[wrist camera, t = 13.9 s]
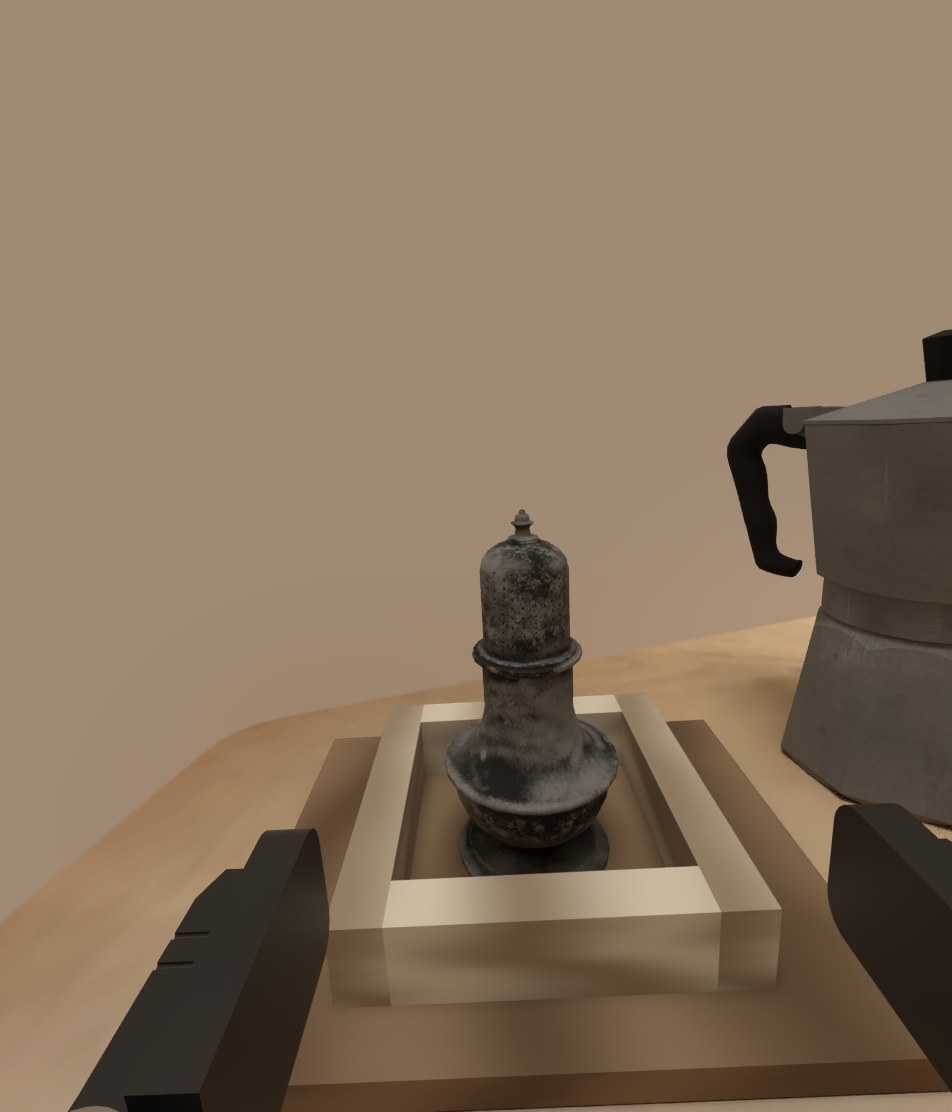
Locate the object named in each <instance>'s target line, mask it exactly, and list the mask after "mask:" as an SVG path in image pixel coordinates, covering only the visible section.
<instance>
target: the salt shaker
mask: <svg viewBox="0 0 952 1112" xmlns="http://www.w3.org/2000/svg"><path fill="white" fill-rule="evenodd" d="M532 523H533V521H530V520H529V516H528V515H527V514H525V511H524V510H520V511H519V514H517V515H516V516H515V521H513V522H511V524H512V525H514V526H515V528H516V531H515V535H511V536H509V537H508V539H507V540H506V541H503V542H501V543H498V544H497V545H495V546H494V547H492V548H491V549H490V550H489V551H487V553H486V554H485V556H484V557H483V559H482V561H481V567H480V585H481V603H482V623H483V639H481V640H480V641H479V642H478V643H477V644H476V645H475V647H474V648H473V653H472V655H473V658H474V660H475V662H476V663H477V664H479V665H480V666H481V667H482V668H483V685H484V703H485V706H484V712H483V716H482V719H481V720H479V721H477V722H475V723H473V724H471V725H469V726H467V727H466V728H465V729H463V730H462V731H461V732H460V733H459V734H457V735H456V736H455V738H454V739H453V740H452V742H451V743H450V745H449V746H448V748H447V751H446V756H445V761H444V762H445V767H446V772H447V776H448V778H449V779H450V781H451V782H452V783H453V785H454V786H455V788H456V789H457V792H458V796H459V799H460V800H461V802H462V804H463V806H464V807H465V809H466V811H467V813H468V814H469V816H470V817H469V818H468V820H467V822H466V823H465V825H464V827H463V829H462V831H461V837H460V844H459V849H460V854H461V858H462V862H463V865H464V866H465V868H466V869H467V871H468V873H469V874H470V876H471V877H481V876H502V875H523V874H544V873H565V872H585V871H604V869H605V867H606V866H607V862H608V856H609V842H608V838H607V833H606V831H605V829H604V828H603V826H602V824H601V823H600V821H599V820H598V819H597V818H596V816H597V815H598V813H599V811H600V809H601V807H602V805H603V803H604V801H605V799H606V797H607V792H608V788H609V787H610V786H611V784H612V783H613V781H614V780H615V778H616V777H617V771H618V765H619V759H618V756H617V752H616V749H615V746H614V745H613V744H612V743H611V741H610V740H609V739H608V737H607V736H606V735H605V734H604V733H602V732H601V731H600V730H598V729H597V728H596V727H594V726H593V725H592V724H589V723H587V722H585V721H583V720H581V719H578V718H577V717H576V713H575V710H574V706H573V666H574V665H575V664H576V663H577V662H578V661H579V660H580V658H581V656H582V649H581V645H580V644H579V643H578V642H577V641H576V640H575V639H573V638H571V637H570V616H569V567H568V563H567V559H566V557H565V555H564V554H563V553H562V551H561V550H560V549H559V548H557V547H556V546H554V545H553V544H551V543H549V542H547V541H544V540H540V539H539V538H538V536H537V535H534V534H530V529H529V528H530V526H531V525H532Z"/></svg>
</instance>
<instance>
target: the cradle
mask: <svg viewBox="0 0 952 1112" xmlns="http://www.w3.org/2000/svg"><path fill="white" fill-rule="evenodd" d="M484 706H485V703H484V702H469V703H450V704H431V705H413V706H394V707H390V710H389V714H388V717H387V720H386V724H385V727H384V730H383V733H382V737H363V738H344V739H335V740H334V742H333V744H332V746H331V748H330V751H329V753H328V755H327V757H326V760H325V762H324V764H323V766H322V769H321V771H320V773H319V775H318V777H317V780H316V782H315V784H314V786H313V789H312V791H311V793H310V795H309V798H308V800H307V802H306V804H305V807H304V809H303V811H302V813H301V815H300V818H299V820H298V822H297V824H296V827H295V829H310V828H314V829H315V830H316V831H317V833H318V836H319V841H320V848H321V855H322V862H323V869H324V876H325V883H326V890H327V897H328V904H329V914H330V925H329V938H328V945H327V951H326V955H325V959H324V963H323V966H322V970H321V973H320V977H319V980H318V984H317V987H316V991H315V994H314V998H313V1001H312V1005H311V1008H310V1011H309V1015H308V1018H307V1022H306V1025H305V1029H304V1032H303V1036H302V1039H301V1043H300V1046H299V1050H298V1053H297V1057H296V1060H295V1064H294V1067H293V1071H292V1074H291V1077H290V1081H289V1084H288V1088H287V1091H286V1095H285V1098H284V1102H283V1105H282V1109H281V1112H439V1111H464V1110H488V1109H512V1108H536V1107H561V1106H585V1105H609V1104H634V1103H658V1102H682V1101H706V1100H731V1099H755V1098H779V1097H803V1096H828V1095H852V1094H876V1093H901V1092H925V1091H949V1088H948V1087H947V1085H946V1084H945V1082H944V1081H943V1080H942V1078H941V1077H940V1075H939V1074H938V1073H937V1071H936V1070H935V1068H934V1067H933V1065H932V1064H931V1063H930V1061H929V1060H928V1058H927V1057H926V1055H925V1054H924V1053H923V1051H922V1050H921V1048H920V1047H919V1045H918V1044H917V1043H916V1041H915V1040H914V1038H913V1037H912V1036H911V1034H910V1033H909V1031H908V1030H907V1028H906V1027H905V1026H904V1024H903V1023H902V1021H901V1020H900V1018H899V1017H898V1016H897V1014H896V1013H895V1011H894V1010H893V1008H892V1007H891V1006H890V1004H889V1003H888V1001H887V1000H886V999H885V997H884V996H883V994H882V993H881V991H880V990H879V989H878V987H877V986H876V984H875V983H874V981H873V980H872V979H871V977H870V976H869V974H868V973H867V971H866V970H865V969H864V967H863V966H862V964H861V963H860V962H859V960H858V959H857V957H856V956H855V954H854V953H853V952H852V950H851V949H850V947H849V946H848V944H847V943H846V942H845V940H844V939H843V937H842V936H841V934H840V932H839V930H838V928H837V926H836V924H835V921H834V919H833V916H832V913H831V910H830V906H829V901H828V893H827V886H828V884H827V883H826V881H825V880H824V879H823V877H822V876H821V875H820V873H819V872H818V871H817V869H816V868H815V867H814V865H813V864H812V863H811V861H810V860H809V859H808V858H807V856H806V855H805V854H804V852H803V851H802V850H801V848H800V847H799V846H798V844H797V843H796V842H795V840H794V839H793V838H792V836H791V835H790V834H789V832H788V831H787V830H786V828H785V827H784V826H783V824H782V823H781V822H780V820H779V819H778V818H777V816H776V815H775V814H774V812H773V811H772V810H771V808H770V807H769V806H768V804H767V803H766V802H765V801H764V799H763V798H762V797H761V795H760V794H759V793H758V791H757V790H756V789H755V787H754V786H753V785H752V783H751V782H750V781H749V779H748V778H747V777H746V775H745V774H744V773H743V771H742V770H741V769H740V767H739V766H738V765H737V763H736V762H735V761H734V759H733V758H732V757H731V755H730V754H729V753H728V751H727V750H726V749H725V747H724V746H723V745H722V744H721V742H720V741H719V740H718V738H717V737H716V736H715V734H714V733H713V732H712V730H711V729H710V728H709V726H708V725H707V724H706V722H705V721H704V720H690V721H670V722H665V720H664V719H663V717H662V716H661V714H660V712H659V711H658V709H657V708H656V706H655V704H654V703H653V701H652V700H651V698H650V696H649V695H648V693H639V694H620V695H601V696H583V697H573V706H574V710H575V713H576V717H577V718H578V719H581V720H583V721H585V722H587V723H589V724H592V725H593V726H594V727H596V728H597V729H598V730H600V731H601V732H602V733H604V734H605V735H606V736H607V737H608V739H609V740H610V741H611V743H612V744H613V745H614V746H615V749H616V752H617V756H618V759H619V765H618V771H617V777H616V778H615V780H614V781H613V783H612V784H611V786H610V787H609V788H608V792H607V797H606V799H605V801H604V803H603V805H602V807H601V809H600V811H599V813H598V815H597V816H596V818H597V819H598V820H599V821H600V823H601V824H602V826H603V828H604V829H605V831H606V833H607V838H608V842H609V856H608V862H607V866H606V867H605V869H604V871H585V872H565V873H544V874H523V875H502V876H481V877H471V876H470V874H469V873H468V871H467V869H466V868H465V866H464V865H463V862H462V858H461V854H460V849H459V844H460V837H461V831H462V829H463V827H464V825H465V823H466V822H467V820H468V818H469V817H470V816H469V814H468V813H467V811H466V809H465V807H464V806H463V804H462V802H461V800H460V799H459V796H458V792H457V789H456V788H455V786H454V785H453V783H452V782H451V781H450V779H449V778H448V776H447V772H446V767H445V762H444V761H445V756H446V751H447V748H448V746H449V745H450V743H451V742H452V740H453V739H454V738H455V736H456V735H457V734H459V733H460V732H461V731H462V730H463V729H465V728H466V727H467V726H469V725H471V724H473V723H475V722H477V721H479V720H481V719H482V716H483V712H484Z"/></svg>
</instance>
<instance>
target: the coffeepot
mask: <svg viewBox="0 0 952 1112" xmlns="http://www.w3.org/2000/svg"><path fill="white" fill-rule="evenodd" d="M922 342H923V352H924V362H925V373H926V382H925V383H921V384H918V385H915V386H912V387H909V388H905V389H902V390H899V391H896V392H893V393H889V394H887V395H883V396H880V397H877V398H874V399H871V400H867V401H864V402H861V403H858V404H855V405H851V406H848V407H838V406H827V407H822V406H813V407H794V408H792V407H791V405H781V406H763V407H760V408H758V409H756V410H755V411H754V412H753V413H752V414H751V416H750V417H749V418H748V419H747V420H746V421H745V423H744V424H743V425H742V426H741V427H740V429H739V430H738V431H737V432H736V433H735V434H734V436H733V437H732V438H731V440H730V442H729V444H728V447H727V457H728V462H729V466H730V469H731V472H732V476H733V479H734V482H735V486H736V490H737V493H738V497H739V501H740V505H741V509H742V512H743V517H744V521H745V524H746V528H747V532H748V536H749V540H750V544H751V547H752V551H753V555H754V559H755V563H756V565H757V566H758V567H759V568H760V569H762V570H764V571H766V572H770V573H773V574H776V575H781V576H786V577H794V576H796V574H797V573H798V572H799V571H800V569H801V567H802V561H801V560H795V559H792V558H789V557H787V556H784V555H783V554H781V553H780V552H779V550H778V548H777V544H776V535H777V519H776V516H775V513H774V511H773V509H772V506H771V504H770V501H769V497H768V480H767V472H766V467H765V464H764V462H763V459H762V456H761V455H762V451H763V449H764V448H765V447H766V446H767V445H768V444H778V445H783V446H787V447H791V448H800V449H807V460H808V471H809V483H810V496H811V508H812V520H813V533H814V544H815V557H816V568H817V574H818V575H821V576H822V577H824V583H823V593H822V606H820V608H819V610H818V613H817V617H816V621H815V624H814V628H813V632H812V635H811V639H810V643H809V646H808V650H807V654H806V657H805V661H804V664H803V668H802V672H801V675H800V679H799V683H798V686H797V690H796V694H795V697H794V701H793V704H792V708H791V711H790V715H789V719H788V722H787V726H786V729H785V733H784V736H783V740H782V743H781V746H782V747H783V749H784V750H785V751H786V752H787V753H788V754H789V755H790V756H791V757H792V758H793V760H794V761H795V762H796V763H797V764H798V765H799V766H800V767H801V768H802V769H804V770H805V771H806V772H807V773H808V774H809V775H810V776H812V777H813V778H815V779H816V780H817V781H819V782H820V783H822V784H823V785H825V786H826V787H828V788H830V789H832V790H834V791H835V792H837V793H839V794H841V795H843V796H845V797H847V798H849V799H852V800H854V801H856V802H859V803H861V804H878V803H896V804H899V805H901V806H902V807H904V808H905V809H906V810H908V811H909V812H910V813H911V814H912V815H913V816H914V817H915V818H916V819H918V820H919V821H920V822H926V823H933V824H940V825H947V826H952V330H944V331H941V332H939V333H936V334H934V335H931V336H929V337H927V338H924V339H923V340H922Z"/></svg>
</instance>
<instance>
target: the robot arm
mask: <svg viewBox="0 0 952 1112" xmlns="http://www.w3.org/2000/svg"><path fill="white" fill-rule="evenodd" d="M827 893H828V901H829V906H830V910H831V913H832V916H833V919H834V921H835V924H836V926H837V928H838V930H839V932H840V934H841V936H842V937H843V939H844V940H845V942H846V943H847V944H848V946H849V947H850V949H851V950H852V952H853V953H854V954H855V956H856V957H857V959H858V960H859V962H860V963H861V964H862V966H863V967H864V969H865V970H866V971H867V973H868V974H869V976H870V977H871V979H872V980H873V981H874V983H875V984H876V986H877V987H878V989H879V990H880V991H881V993H882V994H883V996H884V997H885V999H886V1000H887V1001H888V1003H889V1004H890V1006H891V1007H892V1008H893V1010H894V1011H895V1013H896V1014H897V1016H898V1017H899V1018H900V1020H901V1021H902V1023H903V1024H904V1026H905V1027H906V1028H907V1030H908V1031H909V1033H910V1034H911V1036H912V1037H913V1038H914V1040H915V1041H916V1043H917V1044H918V1045H919V1047H920V1048H921V1050H922V1051H923V1053H924V1054H925V1055H926V1057H927V1058H928V1060H929V1061H930V1063H931V1064H932V1065H933V1067H934V1068H935V1070H936V1071H937V1073H938V1074H939V1075H940V1077H941V1078H942V1080H943V1081H944V1082H945V1084H946V1085H947V1087H948V1088H949V1090H950V1091H951V1092H952V842H951V841H949V840H948V839H938V838H937V837H936V836H935V835H934V834H933V833H932V832H931V831H930V830H929V829H927V828H926V827H925V826H924V825H923V824H922V823H921V822H920V821H919V820H918V819H916V818H915V817H914V816H913V815H912V814H911V813H910V812H909V811H908V810H906V809H905V808H904V807H902V806H901V805H899V804H896V803H878V804H857V805H843V806H840V807H839V808H838V809H837V811H836V813H835V818H834V826H833V836H832V846H831V856H830V866H829V876H828V886H827ZM329 925H330V914H329V904H328V897H327V890H326V883H325V876H324V869H323V862H322V855H321V848H320V841H319V836H318V833H317V831H316V830H315V829H314V828H310V829H288V830H268V831H265V832H264V833H263V834H262V835H261V837H260V838H259V840H258V842H257V844H256V846H255V848H254V850H253V851H252V853H251V855H250V857H249V859H248V861H247V863H246V865H245V867H244V869H226V870H225V871H224V872H223V873H222V874H221V875H220V876H219V877H218V878H217V879H216V880H214V881H213V882H212V883H211V884H210V885H209V886H208V887H207V888H206V889H205V890H204V891H203V892H202V893H201V894H200V895H199V896H198V897H197V898H196V899H195V900H194V902H193V904H192V905H191V907H190V909H189V910H188V912H187V914H186V915H185V917H184V919H183V920H182V922H181V924H180V925H179V927H178V929H177V930H176V932H175V938H174V940H171V941H170V942H169V944H168V946H167V947H166V949H165V951H164V952H163V954H162V956H161V957H160V959H159V961H158V962H157V963H158V965H157V969H156V970H153V971H152V973H151V974H150V976H149V978H148V979H147V981H146V983H145V984H144V986H143V988H142V989H141V991H140V993H139V994H138V996H137V998H136V999H135V1001H134V1003H133V1004H132V1006H131V1008H130V1010H129V1011H128V1013H127V1015H126V1016H125V1018H124V1020H123V1021H122V1023H121V1025H120V1026H119V1028H118V1030H117V1031H116V1033H115V1035H114V1036H113V1038H112V1040H111V1041H110V1043H109V1045H108V1047H107V1048H106V1050H105V1052H104V1053H103V1055H102V1057H101V1058H100V1060H99V1062H98V1063H97V1065H96V1067H95V1068H94V1070H93V1072H92V1073H91V1075H90V1077H89V1078H88V1080H87V1082H86V1084H85V1085H84V1087H83V1089H82V1090H81V1092H80V1094H79V1095H78V1097H77V1098H76V1100H75V1101H74V1103H73V1104H72V1106H71V1108H70V1109H69V1111H68V1112H281V1109H282V1105H283V1102H284V1098H285V1095H286V1091H287V1088H288V1084H289V1081H290V1077H291V1074H292V1071H293V1067H294V1064H295V1060H296V1057H297V1053H298V1050H299V1046H300V1043H301V1039H302V1036H303V1032H304V1029H305V1025H306V1022H307V1018H308V1015H309V1011H310V1008H311V1005H312V1001H313V998H314V994H315V991H316V987H317V984H318V980H319V977H320V973H321V970H322V966H323V963H324V959H325V955H326V951H327V945H328V938H329Z"/></svg>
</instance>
